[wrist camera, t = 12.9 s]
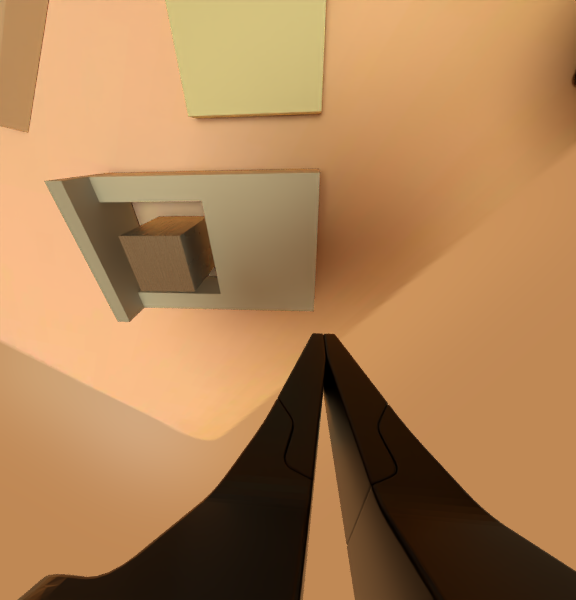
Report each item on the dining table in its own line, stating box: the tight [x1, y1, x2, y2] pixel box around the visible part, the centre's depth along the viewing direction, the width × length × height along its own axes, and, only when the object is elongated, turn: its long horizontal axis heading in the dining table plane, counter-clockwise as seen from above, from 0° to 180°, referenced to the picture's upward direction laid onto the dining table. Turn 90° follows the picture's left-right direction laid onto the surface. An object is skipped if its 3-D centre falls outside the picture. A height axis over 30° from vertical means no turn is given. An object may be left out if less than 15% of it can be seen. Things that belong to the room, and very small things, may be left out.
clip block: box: [118, 216, 215, 292], centre depth 18 cm, size 5×4×4 cm
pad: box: [165, 0, 326, 118], centre depth 12 cm, size 8×8×1 cm
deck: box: [44, 169, 320, 322], centre depth 18 cm, size 16×10×5 cm, turn 91°
